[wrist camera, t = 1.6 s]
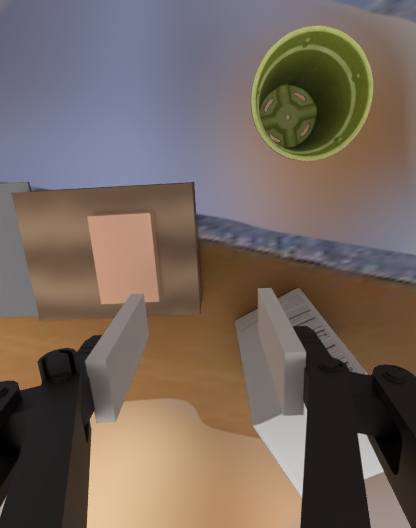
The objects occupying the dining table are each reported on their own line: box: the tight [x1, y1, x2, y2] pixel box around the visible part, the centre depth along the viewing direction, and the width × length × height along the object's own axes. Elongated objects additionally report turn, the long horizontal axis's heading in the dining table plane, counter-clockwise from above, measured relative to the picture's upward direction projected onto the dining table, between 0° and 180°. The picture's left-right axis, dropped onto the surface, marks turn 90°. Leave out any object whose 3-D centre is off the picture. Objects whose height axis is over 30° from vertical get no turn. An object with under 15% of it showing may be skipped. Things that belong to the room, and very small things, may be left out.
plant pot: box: [251, 26, 373, 161], centre depth 28 cm, size 9×9×9 cm
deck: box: [11, 182, 202, 321], centre depth 34 cm, size 14×18×4 cm
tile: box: [87, 211, 162, 304], centre depth 31 cm, size 9×6×2 cm, turn 3°
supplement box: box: [235, 288, 384, 497], centre depth 31 cm, size 10×9×17 cm
